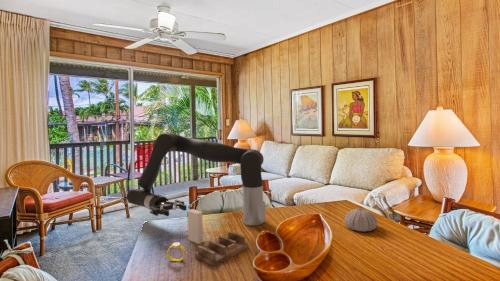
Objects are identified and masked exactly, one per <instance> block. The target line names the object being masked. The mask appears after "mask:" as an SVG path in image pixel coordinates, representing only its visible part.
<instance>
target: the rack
mask: <svg viewBox="0 0 500 281" xmlns="http://www.w3.org/2000/svg"><path fill="white" fill-rule="evenodd" d="M248 248H249V243H248V242H246V236H245V235H242V234H239V233H237V232H234V231H228V232H227V236H223V235H219V236H218V241H217V242H215V241H214V240H209V241H208V246H207V247H204V246H202V245H197V251H196V252H195V253H194V257H195V258H196V259H198V260H200V261H202V262H204V263H206V264H208V265H209V266H212V267H215V268H216V267H217V266H219V265H221V264H222V263H223V262H226V261H227V260H229V259H231V258H232V257H234V256H236V255H237V254H239V253H241V252H242V251H244V250H246V249H248Z"/></svg>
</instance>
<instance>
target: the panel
mask: <svg viewBox="0 0 500 281" xmlns="http://www.w3.org/2000/svg"><path fill="white" fill-rule="evenodd" d="M186 211H187V229H188V231H187V232H188V240H189V241H191V242H193V243H195V244H197V245H199V244H201V243H203V242H204V228H203V227H204V224H203V223H204V222H203V211H201V210H197V209H194V208H190V209H188V210H186Z"/></svg>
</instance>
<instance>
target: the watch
mask: <svg viewBox="0 0 500 281" xmlns="http://www.w3.org/2000/svg"><path fill="white" fill-rule="evenodd" d="M172 248H174V249H176V248H180V249H181V251H182V252H183V253H182V254H183V255H182V257H181V258H173V257H172V256H171V255H170V249H172ZM166 256H167V259H168V260H170V261H171V262H178V263H180V262H181V261H183V260H184V258H185V256H186V249H185V247H184V245H181V242H178V241H175V242H173V243H172V244H171V245H170V246H169V247H168V249H167V252H166Z"/></svg>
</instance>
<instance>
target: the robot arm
mask: <svg viewBox="0 0 500 281" xmlns="http://www.w3.org/2000/svg"><path fill="white" fill-rule="evenodd" d="M170 152H178V153H180V152H181V153H186V154H189V155H191V156H194V157H196V158H197V159H200V160H203V161H207V162H208V161H209V162H213V163H233V164H238V165H240V178H241V184H242V185H241V186H242V214H243V216H242V218H243V220H242V221H243V224H244V225H246V226H252V227H255V226H260V225H262V224H263V223H266V202H265V201H264V183H263V182H264V181H263V178H262V165H263V164H264V160H265V159H264V155H263V153H262V152H260V151H259V150H258V149H257V150H256V149H254V148H253V149H252V148H251V149H250V148H240V147H235V146H232V145H228V144H223V143H220V142H217V141H212V140H211V141H210V140H207V139H206V140H205V139H199V138H190V137H186V136H183V135H180V134H176V133H173V132H162V133H160V134H159V135H158V136H157V137H156V139H155V142H154V144H153V148H152V151H151V153H150V155H149V158H148V160H147V164H146V166H145V168H144V169H143V172H142V173H141V175H140V177H139V178H138V181H137V185H138V186H139V187H140V188H142V189H139V188H131V189H129V190H128V192H127V193H126V200H127V202H128V203H129V204H132V205H135V206H140V207H141V206H142V207H144V208H146V209H148V210H149V213H150V214H151V215H154V216H156V217H158V216H159V215H161V216H162V215H163V216H165V217H169V216H170V211H176V210H182V211H187V208H188V207H187V204H185V201H183V200H180V199H175V200H174V201H171V200H169V199H168V198H167V197H166V196H163V195H160V194H157V193H152V189H153V185H154V183H155V182H156V180H157V178H158V176H159V172H160V168H161V164H162V161H163V160H164V158H165V156H166V155H167V154H168V153H170Z"/></svg>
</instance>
